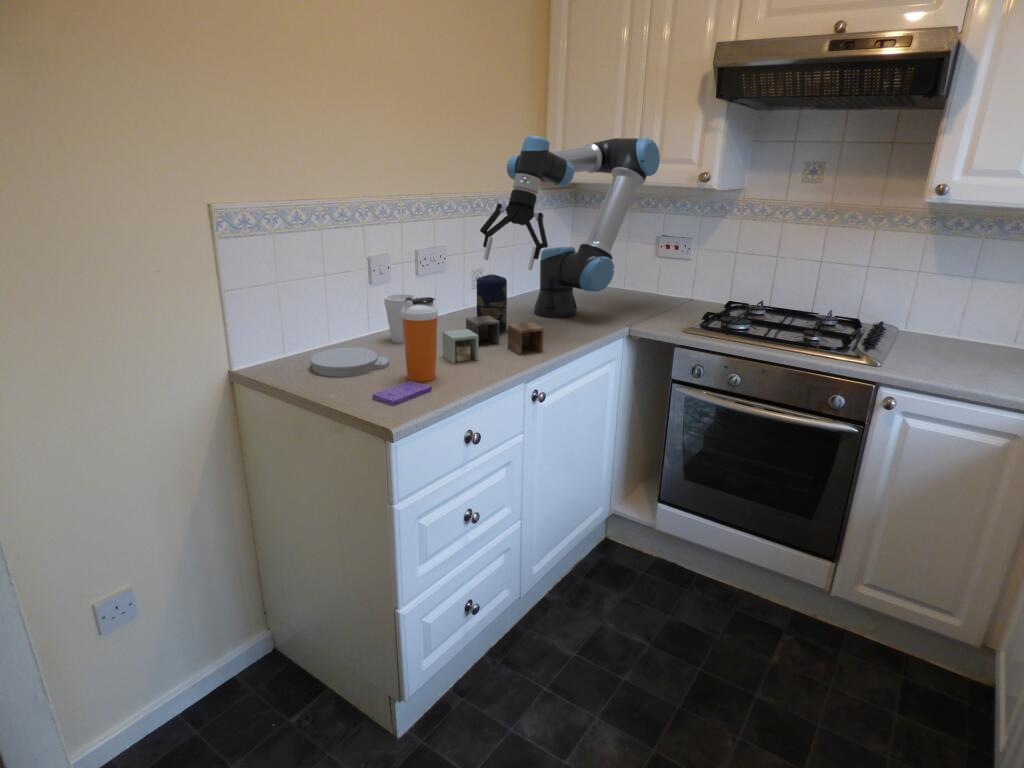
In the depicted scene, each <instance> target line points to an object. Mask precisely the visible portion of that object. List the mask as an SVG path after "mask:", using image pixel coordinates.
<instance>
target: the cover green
mask: <svg viewBox="0 0 1024 768" xmlns="http://www.w3.org/2000/svg"><path fill="white" fill-rule="evenodd" d="M462 342H465V343H467V344H468V345H470V349H471V359H473V360H475V361H479V351H480V350H479V347H480V346H479V345H480V343H479V335H477V334H475V333H474V332H472V331H470V330H469V329H466V328H464V329H453V330H447V331H446V330H445V331H442V357H443V358H445V359H446V360H447V361H449V362H450V363H451V364H452V365H453V364H454V365H455V364H456V360H455V343H462Z"/></svg>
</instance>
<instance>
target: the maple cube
mask: <svg viewBox="0 0 1024 768" xmlns="http://www.w3.org/2000/svg"><path fill="white" fill-rule="evenodd" d="M471 359H472V357H471V349H470V345H468V344H467V343H465V342H462V343H455V362H463V361H470V360H471Z"/></svg>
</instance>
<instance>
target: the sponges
mask: <svg viewBox="0 0 1024 768" xmlns="http://www.w3.org/2000/svg"><path fill="white" fill-rule="evenodd" d="M432 390H433V386H432V385H429V384H425V383H421V382H416V381H411V380H408V381H405V382H403V383H400V384H398V385H394V386H391V387H389V388H385V389H382V390H380V391H379V390H378V391H376V392H372V394H371V395H372V397H371V398H372V400H375V401H377V402H380V403H381V402H382V403H384V404H388V405H389V406H390V405H391V406H397V405H399V404H402V403H405V402H407V401H410V400H412V399H415V398H417V397H420V396H422V395H425V394H428V393H430V392H431V391H432Z"/></svg>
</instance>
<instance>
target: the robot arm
mask: <svg viewBox="0 0 1024 768" xmlns="http://www.w3.org/2000/svg"><path fill="white" fill-rule="evenodd" d="M549 150H550V141H549V140H547V139H546V138H545V137H541V136H539V135H527V136H526V137H525V138H524V139H523V142H522V147H521V149H520V154H518V155H513V156H511V157H510V158H509V159H508V160H507V163H506V173H507V175H508V177H509V178H510V179H512V180H513V184H512V188H513V189H512V190H511V192H510V197H509V201H508V204H507V206H505V205H503V204H501V203H497V205H496V207H495V210H494V211H493V212H492V213H491V215H490V216H489V218H488V219H487V220H486V221H485V223H484V224H483V225H482V227H481V228H480V229H479V231H480V233H481V234H483V235H484V239H483V244H482V245H483V248H485V249H484V250H485V251H484V254H483V259H484V260H485V261H488V260H489V258H490V254H491V253H490V252H491V248H492V244H493V241H494V240H493V239H494V238H493V237H492V236H493V235H495V234H496V233H497V232H498V231H500V230H501V229H502V228H504V227H505V226H506V225H508V224H510V222H511V223H512V224H514V225H520V226H525V227H526V228H527V231H528V232H529V235H530V236H531V238H532V241H533V243H534V245H535V246H533V247H532V250H531V254H530V259H529V262H528V266H527V270H529V271H533V268H534V264H535V260H538V259H539V257H540V262H539V263H540V264H539V265H540V266H539V276H540V277H539V292H538V295H537V299H536V300H535V304H534V307H533V311H534V312H533V313H534V314H535V315H536V316H540V317H543V318H552V319H562V318H563V319H565V318H571V317H575V316H576V315H577V314H578V306H577V302H576V298H575V295H574V289H579V290H583V291H585V292H600V291H603V290H604V289H606V288H607V287H608V286H609V285H610V283H611V282H612V280H613V277H614V274H615V270H614V269H615V264H614V262H613V257H614V256H613V254H612V252H611V251H612V249H613V246H614V244H615V241H616V239H617V237H618V234H619V231H620V229H621V227H622V224H623V222H624V220H625V218H626V215H627V213H628V211H629V208H630V206H631V203H632V201H633V198H634V196H635V194H636V191H637V189H638V188H639V187H641V186H644V183H645V181H646V179H647V177H651V176H653V175H655V174H656V173H657V171H658V170H659V166H660V161H661V158H660V157H661V156H660V151H659V147H658V145H657V143H656V142H655V141H654V140H653V139H651V138H645V137H636V138H634V137H633V138H628V137H627V138H625V137H622V138H620V137H617V138H610V139H605V140H601V141H597V142H592V143H591V142H590V143H587V144H585V145H584V147H578V148H569V149H564V150H563V149H562V150H555V151H549ZM581 172H587V173H589V174H593V173H603V174H609V175H610V174H611V175H612V177H613V178H612V181H611V183H610V185H609V187H608V189H607V192H606V195H605V197H604V199H603V202H602V204H601V206H600V209H599V212H598V214H597V216H596V219H595V221H594V223H593V226H592V228H591V231H590V233H589V235H588V238H587V240H586V241H585V242H582V243H581V244H580V245H579V246H578V249H577V252H576V249H575V247H574V246H561V247H549V248H548V246H549V244H548V239H547V234H546V231H545V225H544V217H545V216H544V214H543V213H542V212H535V207H536V203H537V199H538V196H537V194H539V191H540V186H541V183H551V184H554V185H555V186H559V187H565V186H567V185H569V184H570V183H571V182H572V181H573V179H574V175H575V173H581ZM504 212H506V215H505V216H504V217H503V218H502V219H501V220H500V221H499V222H497V223H496V224H495V225H494V226H492V225H493V224H494V223H495V222H496V221H497V219H498V218H499V216H500V215H501V213H504ZM533 218H535V220H536V221H537V225H538V228H539V234H540V239H541V242H540V240H539V238H538V236H537V234H536V232H535V230H534V228H533V225H532V223H531V220H533ZM542 249H543V250H542ZM541 250H542V251H541ZM540 253H541V254H540Z"/></svg>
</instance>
